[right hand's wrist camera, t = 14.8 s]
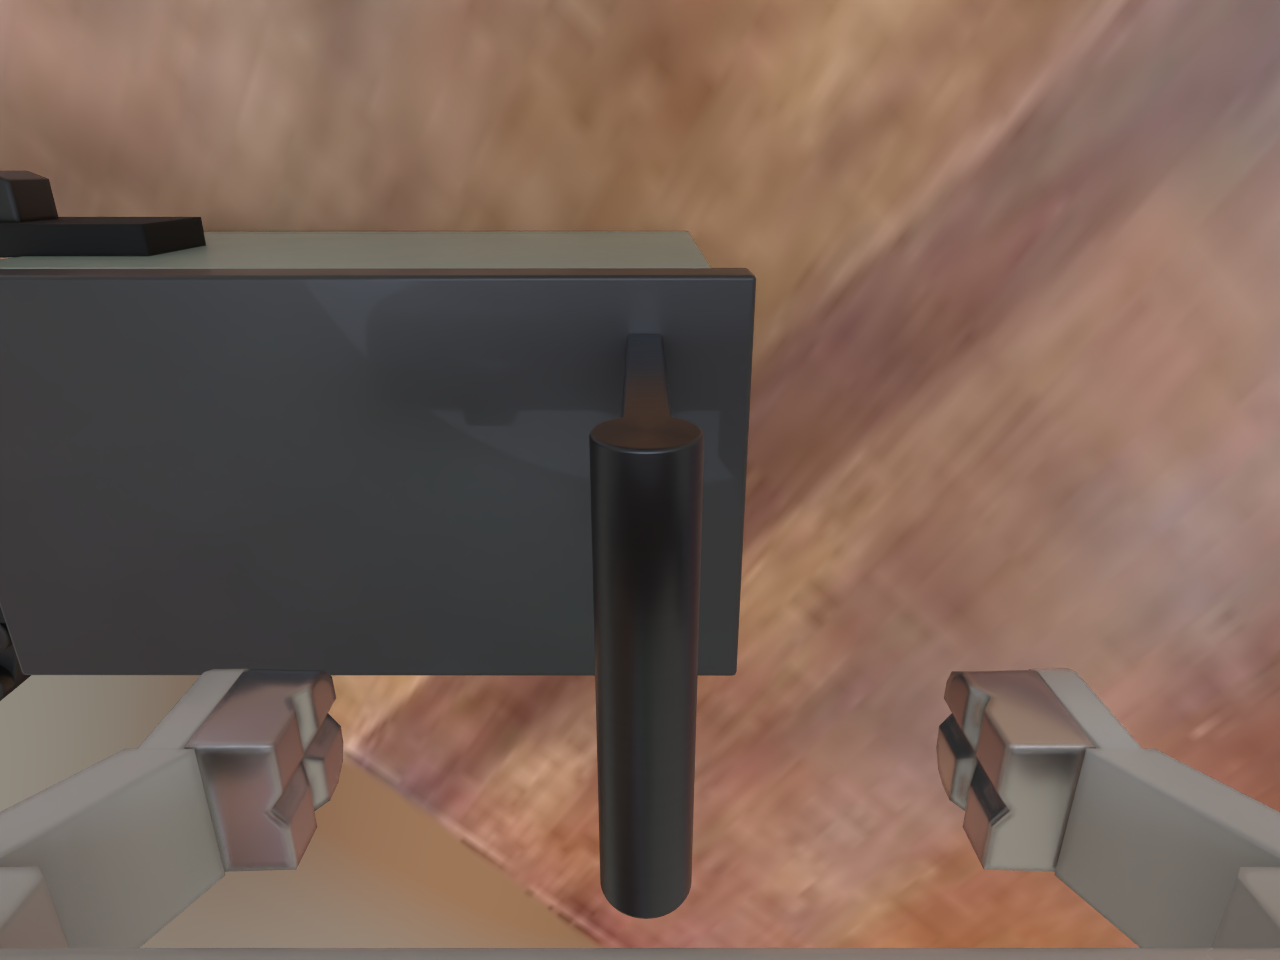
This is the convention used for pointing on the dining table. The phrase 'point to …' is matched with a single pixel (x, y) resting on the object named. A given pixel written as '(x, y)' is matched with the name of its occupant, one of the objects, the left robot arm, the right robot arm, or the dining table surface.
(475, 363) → the lid
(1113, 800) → the right robot arm
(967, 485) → the dining table surface
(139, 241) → the left robot arm
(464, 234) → the chest
